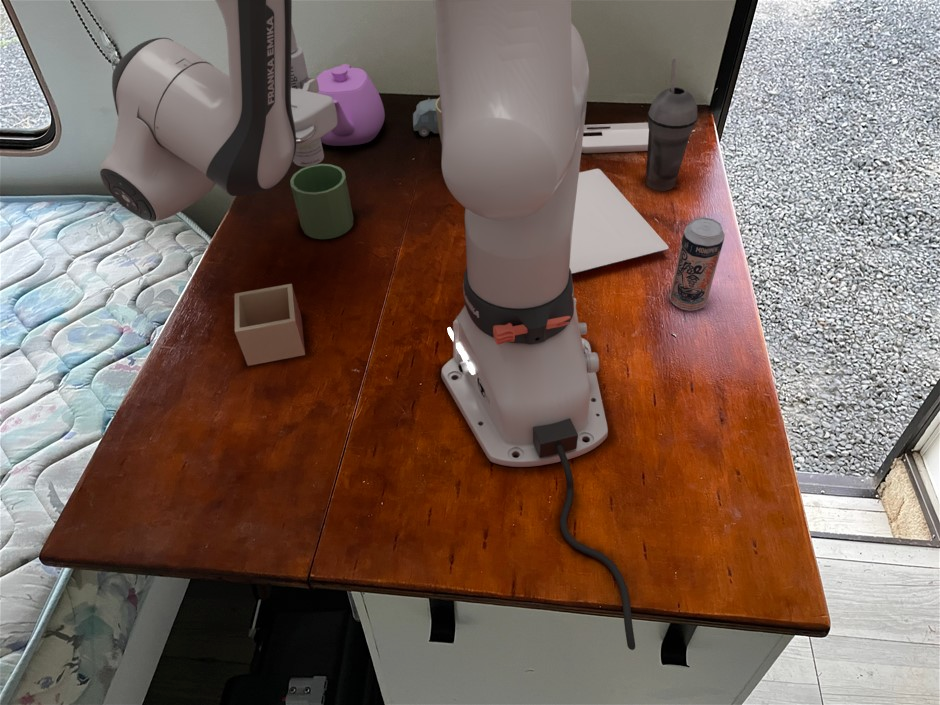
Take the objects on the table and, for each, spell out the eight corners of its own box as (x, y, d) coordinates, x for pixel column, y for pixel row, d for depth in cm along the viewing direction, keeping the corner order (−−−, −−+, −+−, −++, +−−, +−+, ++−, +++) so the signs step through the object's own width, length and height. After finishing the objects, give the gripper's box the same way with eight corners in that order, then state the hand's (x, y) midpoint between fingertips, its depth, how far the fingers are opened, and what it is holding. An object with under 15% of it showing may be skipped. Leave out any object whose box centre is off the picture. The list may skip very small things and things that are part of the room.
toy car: (470, 134, 126) (469, 108, 123) (414, 137, 126) (411, 111, 123) (468, 116, 131) (467, 91, 127) (414, 119, 131) (412, 94, 127)
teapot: (319, 110, 135) (306, 48, 126) (389, 107, 135) (381, 45, 126) (305, 167, 121) (290, 102, 112) (383, 163, 121) (374, 98, 112)
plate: (520, 296, 96) (521, 285, 94) (467, 207, 111) (467, 196, 109) (667, 258, 100) (670, 246, 99) (597, 178, 115) (599, 166, 114)
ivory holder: (305, 355, 90) (295, 320, 85) (247, 366, 89) (234, 331, 84) (301, 317, 95) (291, 283, 90) (246, 327, 94) (234, 293, 89)
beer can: (666, 308, 93) (682, 234, 85) (672, 285, 96) (688, 212, 88) (703, 316, 92) (723, 242, 83) (708, 293, 95) (728, 219, 86)
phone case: (580, 153, 121) (669, 150, 120) (581, 146, 120) (670, 143, 119) (575, 132, 126) (660, 128, 125) (576, 124, 125) (662, 121, 124)
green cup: (356, 234, 107) (348, 188, 101) (303, 243, 106) (292, 197, 100) (350, 205, 113) (342, 160, 107) (300, 213, 111) (288, 168, 106)
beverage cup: (683, 197, 111) (710, 72, 96) (636, 194, 112) (655, 69, 97) (683, 172, 115) (708, 49, 101) (638, 169, 117) (656, 47, 102)
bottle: (290, 167, 98) (254, 17, 84) (296, 151, 101) (261, 4, 87) (321, 166, 98) (290, 16, 83) (326, 150, 101) (297, 2, 86)
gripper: (291, 120, 78) (359, 69, 86) (152, 88, 85) (228, 43, 93) (302, 171, 82) (366, 117, 91) (170, 136, 89) (241, 89, 98)
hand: (295, 79), depth 92 cm, fingers closed on bottle, 4 cm apart
